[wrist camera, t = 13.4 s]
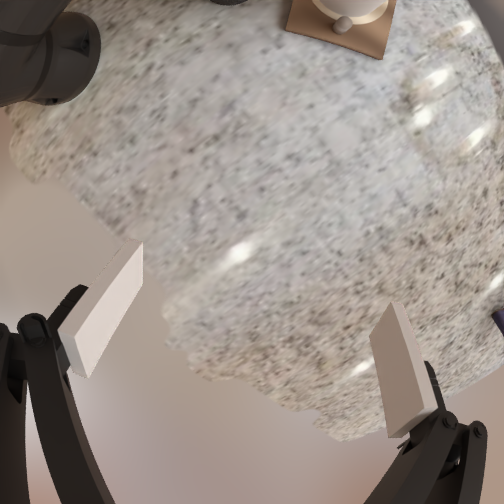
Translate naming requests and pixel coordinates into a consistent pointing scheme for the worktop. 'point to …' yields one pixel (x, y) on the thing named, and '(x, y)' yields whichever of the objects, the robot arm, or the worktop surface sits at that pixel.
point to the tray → (353, 35)
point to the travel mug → (228, 2)
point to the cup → (352, 6)
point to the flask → (499, 319)
